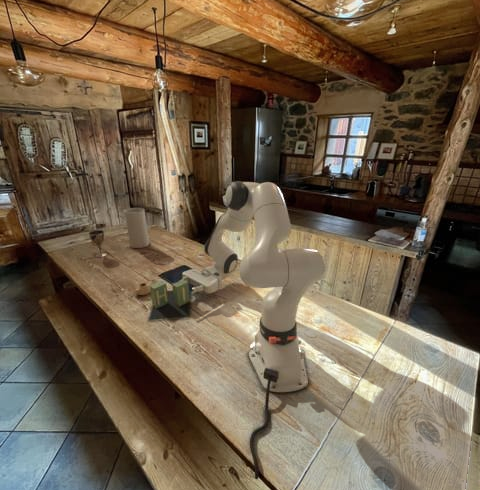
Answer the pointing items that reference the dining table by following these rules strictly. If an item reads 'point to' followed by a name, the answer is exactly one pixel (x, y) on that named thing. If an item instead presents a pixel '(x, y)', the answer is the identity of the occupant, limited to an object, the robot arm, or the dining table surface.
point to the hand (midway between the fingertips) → (186, 286)
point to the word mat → (171, 309)
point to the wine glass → (98, 241)
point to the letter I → (181, 292)
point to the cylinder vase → (136, 227)
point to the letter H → (159, 294)
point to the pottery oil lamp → (144, 287)
